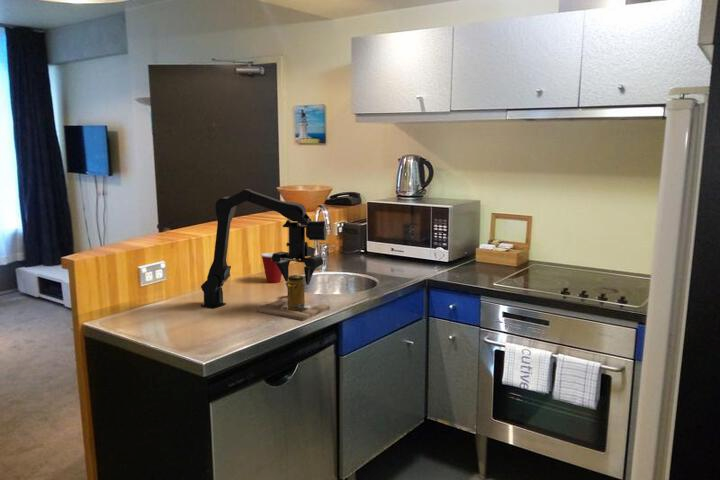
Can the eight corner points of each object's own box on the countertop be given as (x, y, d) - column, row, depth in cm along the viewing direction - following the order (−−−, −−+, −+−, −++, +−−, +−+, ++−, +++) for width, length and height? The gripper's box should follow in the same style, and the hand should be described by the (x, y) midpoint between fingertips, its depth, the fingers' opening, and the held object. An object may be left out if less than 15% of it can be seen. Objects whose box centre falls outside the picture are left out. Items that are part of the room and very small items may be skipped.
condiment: (286, 306, 211) (286, 274, 209) (310, 306, 212) (310, 274, 210) (286, 312, 204) (286, 279, 202) (310, 312, 205) (310, 278, 203)
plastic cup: (292, 280, 249) (291, 253, 247) (276, 285, 240) (275, 257, 238) (272, 277, 255) (271, 250, 253) (255, 282, 246) (255, 254, 243)
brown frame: (303, 320, 195) (303, 317, 195) (257, 311, 205) (257, 307, 205) (329, 309, 209) (329, 305, 209) (285, 300, 219) (285, 297, 218)
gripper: (331, 238, 206) (331, 281, 209) (289, 234, 216) (289, 275, 218) (313, 243, 197) (313, 288, 200) (270, 238, 206) (271, 281, 209)
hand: (297, 282), depth 207 cm, fingers open, 9 cm apart
